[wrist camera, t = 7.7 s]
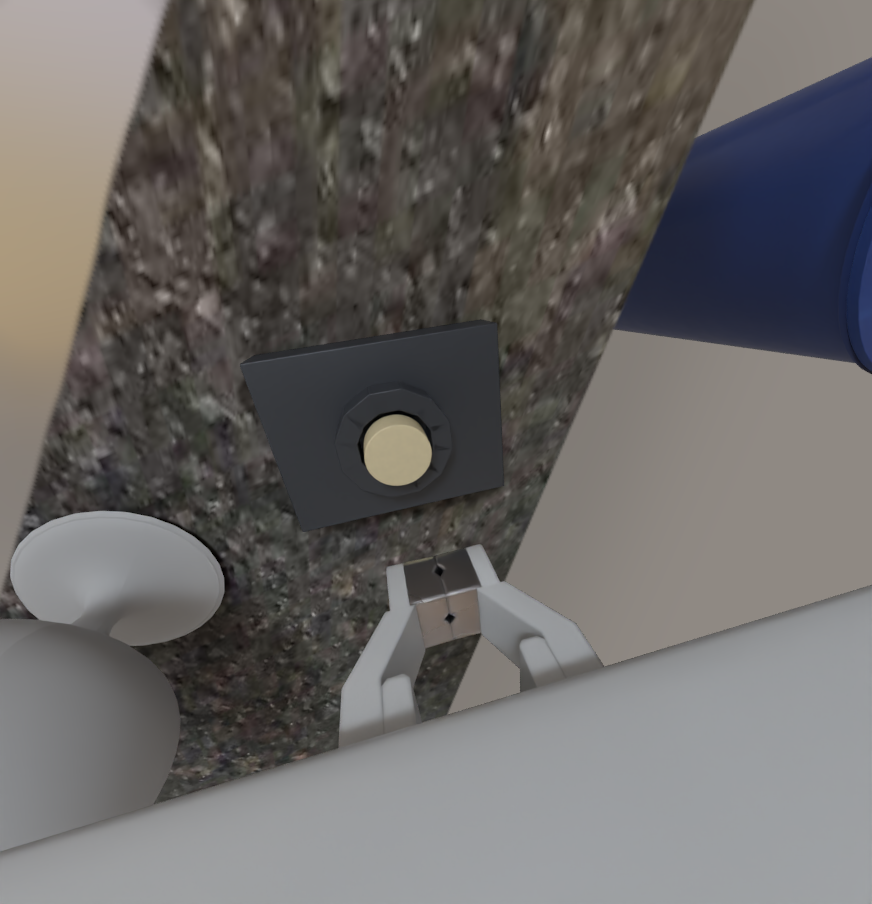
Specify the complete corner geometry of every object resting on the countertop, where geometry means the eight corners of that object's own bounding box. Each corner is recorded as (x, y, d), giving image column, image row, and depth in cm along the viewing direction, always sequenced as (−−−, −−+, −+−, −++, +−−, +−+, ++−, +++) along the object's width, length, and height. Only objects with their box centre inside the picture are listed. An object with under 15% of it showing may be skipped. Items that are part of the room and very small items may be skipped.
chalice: (18, 461, 20) (-699, 819, 6) (268, 534, 25) (168, 812, 12) (-20, 629, 23) (-521, 1079, 10) (205, 661, 29) (75, 983, 15)
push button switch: (421, 408, 19) (427, 418, 18) (430, 464, 21) (436, 478, 19) (356, 420, 19) (357, 432, 17) (370, 477, 20) (372, 492, 19)
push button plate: (481, 319, 22) (510, 325, 18) (491, 468, 27) (515, 500, 23) (252, 355, 20) (226, 371, 16) (307, 509, 25) (298, 551, 21)
